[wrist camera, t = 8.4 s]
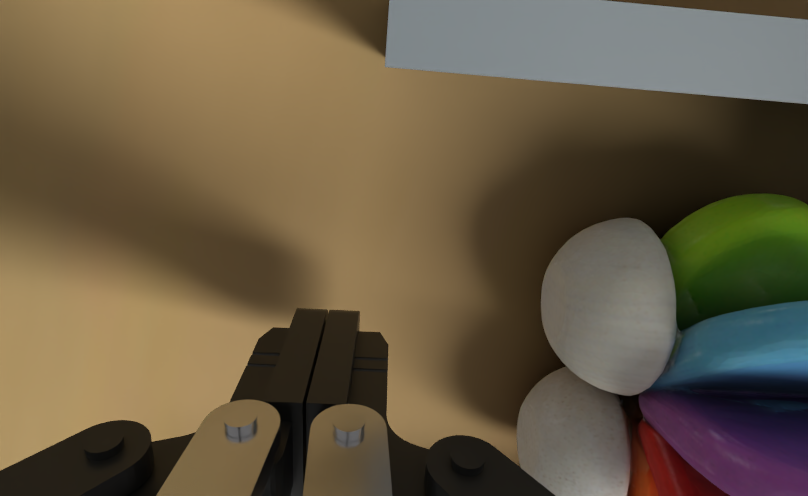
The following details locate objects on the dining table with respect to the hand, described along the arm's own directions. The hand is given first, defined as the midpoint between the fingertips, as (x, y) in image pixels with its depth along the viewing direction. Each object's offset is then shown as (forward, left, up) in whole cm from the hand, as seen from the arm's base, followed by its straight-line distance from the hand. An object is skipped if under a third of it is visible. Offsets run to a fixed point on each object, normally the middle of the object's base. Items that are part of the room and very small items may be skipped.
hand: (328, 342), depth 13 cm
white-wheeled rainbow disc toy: (0, +9, -2) cm, 10 cm away
